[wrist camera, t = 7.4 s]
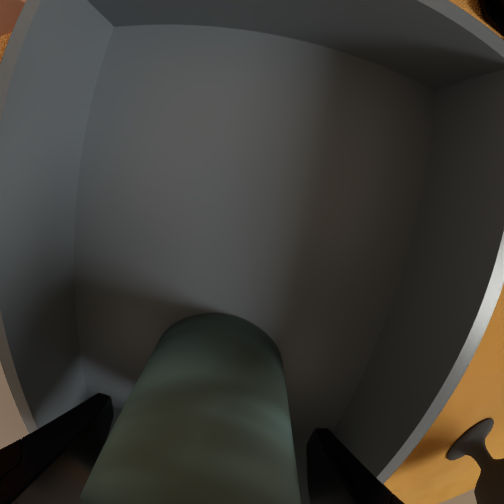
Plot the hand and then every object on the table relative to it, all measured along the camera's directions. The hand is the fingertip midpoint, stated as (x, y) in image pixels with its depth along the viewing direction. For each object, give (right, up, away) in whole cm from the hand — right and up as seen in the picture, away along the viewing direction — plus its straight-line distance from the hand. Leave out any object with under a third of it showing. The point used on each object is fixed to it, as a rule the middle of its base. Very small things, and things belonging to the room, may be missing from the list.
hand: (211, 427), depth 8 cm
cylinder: (0, +1, +3) cm, 3 cm away
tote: (+1, +5, +3) cm, 6 cm away
